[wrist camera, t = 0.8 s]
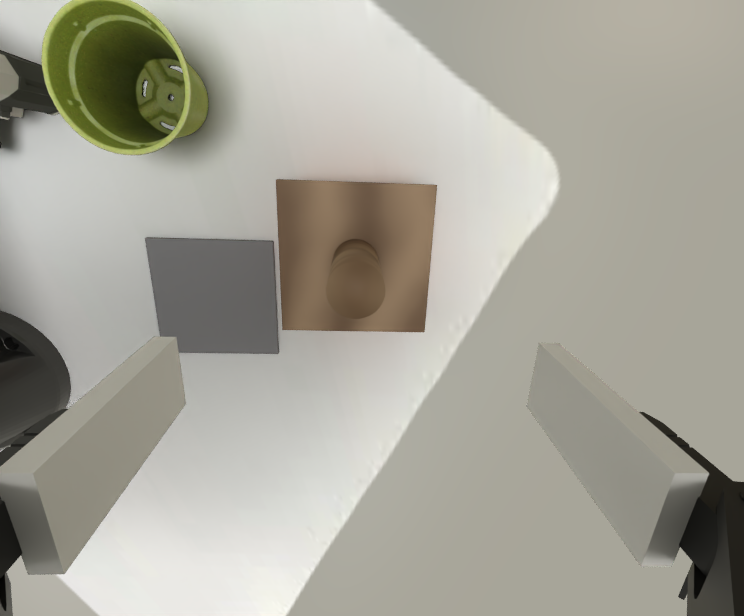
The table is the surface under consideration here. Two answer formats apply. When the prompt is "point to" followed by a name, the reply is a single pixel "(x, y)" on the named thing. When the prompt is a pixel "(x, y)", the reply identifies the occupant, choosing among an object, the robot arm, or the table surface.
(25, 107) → the camera
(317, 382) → the table surface
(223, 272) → the mat
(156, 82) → the plant pot
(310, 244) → the lid
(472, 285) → the table surface
